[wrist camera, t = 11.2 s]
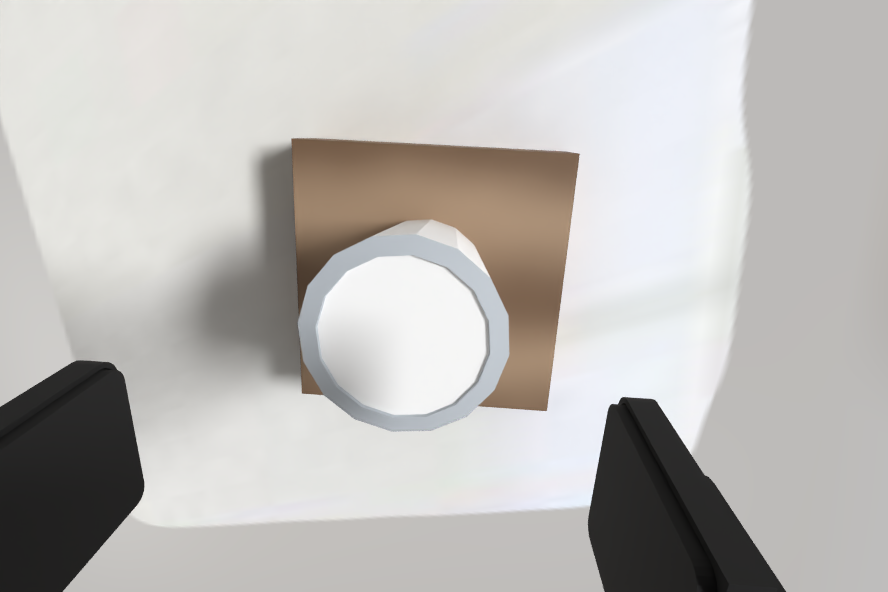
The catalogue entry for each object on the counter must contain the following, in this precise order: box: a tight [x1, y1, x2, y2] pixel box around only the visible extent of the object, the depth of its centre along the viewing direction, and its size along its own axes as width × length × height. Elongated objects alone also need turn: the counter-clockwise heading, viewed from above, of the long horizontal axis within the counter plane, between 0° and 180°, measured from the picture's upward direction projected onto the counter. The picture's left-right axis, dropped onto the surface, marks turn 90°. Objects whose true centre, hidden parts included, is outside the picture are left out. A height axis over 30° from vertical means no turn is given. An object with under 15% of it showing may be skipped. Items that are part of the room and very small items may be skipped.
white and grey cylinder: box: [298, 219, 509, 431], centre depth 19 cm, size 7×7×7 cm
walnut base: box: [292, 138, 579, 411], centre depth 24 cm, size 12×12×3 cm
